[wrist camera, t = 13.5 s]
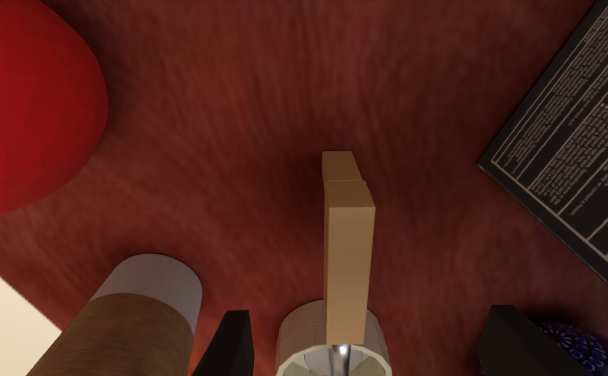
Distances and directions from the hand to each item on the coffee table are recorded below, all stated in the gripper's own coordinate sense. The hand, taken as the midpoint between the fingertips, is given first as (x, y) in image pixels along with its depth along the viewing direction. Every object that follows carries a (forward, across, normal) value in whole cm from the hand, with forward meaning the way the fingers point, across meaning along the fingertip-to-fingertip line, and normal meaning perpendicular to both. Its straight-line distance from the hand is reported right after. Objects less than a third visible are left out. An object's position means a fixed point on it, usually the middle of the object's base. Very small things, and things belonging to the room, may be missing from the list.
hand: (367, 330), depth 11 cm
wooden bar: (+10, 0, +7) cm, 12 cm away
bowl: (+10, 0, +13) cm, 17 cm away
